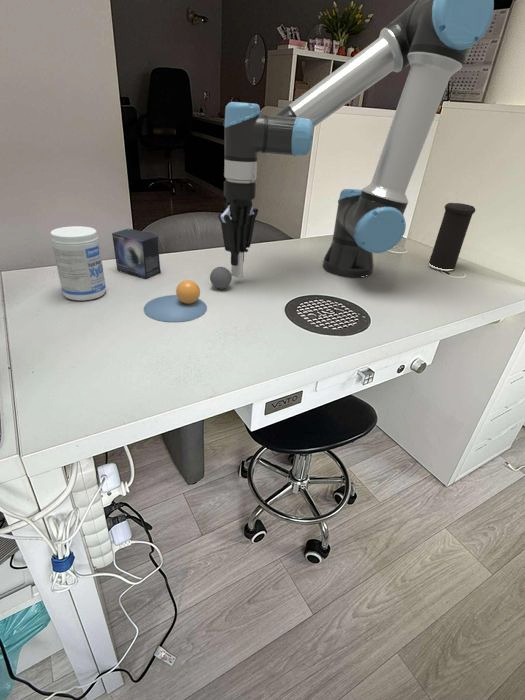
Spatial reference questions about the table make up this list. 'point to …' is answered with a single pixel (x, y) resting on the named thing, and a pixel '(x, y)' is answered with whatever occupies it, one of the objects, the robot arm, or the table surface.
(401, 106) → the robot arm
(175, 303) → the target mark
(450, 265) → the container
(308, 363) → the table surface
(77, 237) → the supplement tub
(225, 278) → the charcoal ball
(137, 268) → the small box
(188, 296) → the orange ball
